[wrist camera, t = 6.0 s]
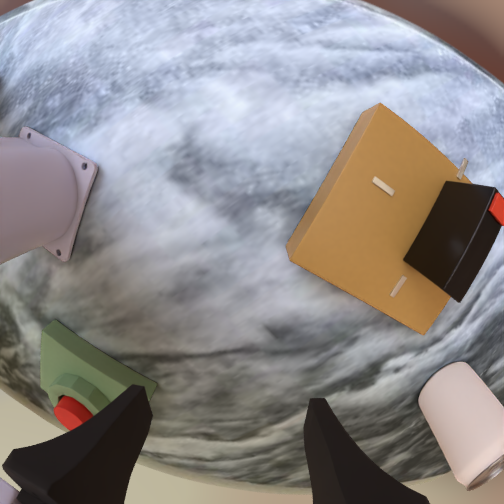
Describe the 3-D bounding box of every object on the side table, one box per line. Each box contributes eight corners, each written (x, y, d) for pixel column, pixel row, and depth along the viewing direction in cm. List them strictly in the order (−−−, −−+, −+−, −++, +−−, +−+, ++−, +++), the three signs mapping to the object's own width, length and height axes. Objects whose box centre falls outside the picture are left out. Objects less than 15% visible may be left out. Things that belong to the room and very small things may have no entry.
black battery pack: (419, 272, 15) (462, 306, 10) (401, 259, 15) (445, 292, 10) (461, 195, 13) (513, 207, 9) (445, 179, 13) (498, 187, 9)
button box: (50, 376, 23) (31, 397, 19) (55, 318, 21) (29, 340, 17) (135, 429, 24) (123, 455, 20) (157, 383, 22) (143, 415, 18)
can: (416, 377, 21) (472, 476, 9) (471, 348, 20) (537, 426, 8) (415, 416, 22) (455, 502, 11) (464, 390, 21) (513, 463, 10)
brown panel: (285, 246, 18) (289, 261, 15) (367, 101, 15) (387, 89, 12) (409, 317, 19) (427, 339, 16) (478, 198, 16) (504, 204, 13)
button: (61, 408, 19) (53, 419, 18) (63, 388, 18) (53, 400, 17) (92, 428, 20) (85, 440, 18) (96, 411, 19) (88, 424, 17)
